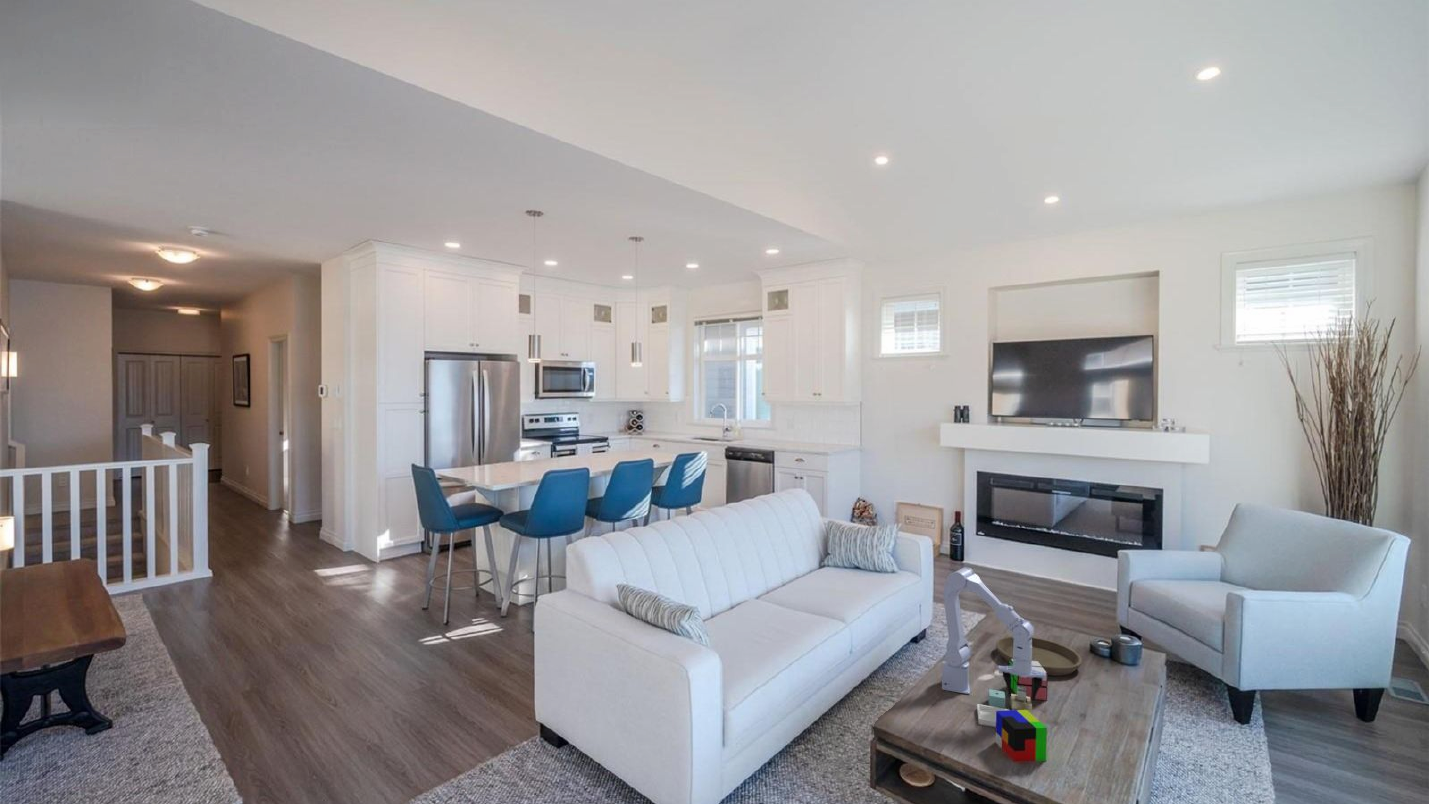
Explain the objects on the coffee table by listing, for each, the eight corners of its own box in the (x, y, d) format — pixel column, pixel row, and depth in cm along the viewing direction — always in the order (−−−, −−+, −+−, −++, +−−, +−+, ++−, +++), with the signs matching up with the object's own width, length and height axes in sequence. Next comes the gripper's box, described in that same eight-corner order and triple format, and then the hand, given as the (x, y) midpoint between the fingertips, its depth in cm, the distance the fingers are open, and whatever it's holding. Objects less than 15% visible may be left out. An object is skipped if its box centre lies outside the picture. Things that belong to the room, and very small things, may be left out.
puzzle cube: (1047, 701, 215) (1048, 673, 214) (1017, 698, 216) (1018, 670, 216) (1037, 687, 224) (1038, 660, 224) (1008, 684, 226) (1009, 658, 226)
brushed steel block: (1017, 712, 207) (1017, 689, 207) (1016, 708, 209) (1017, 685, 209) (1025, 713, 206) (1026, 690, 206) (1024, 709, 208) (1025, 687, 208)
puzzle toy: (995, 742, 189) (996, 711, 189) (1026, 741, 190) (1026, 709, 190) (1014, 762, 179) (1014, 729, 179) (1046, 760, 180) (1046, 727, 180)
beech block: (1012, 713, 206) (1012, 701, 206) (1010, 704, 212) (1010, 693, 211) (1031, 717, 204) (1032, 705, 204) (1029, 708, 209) (1029, 697, 209)
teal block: (989, 706, 210) (989, 695, 210) (988, 700, 215) (988, 688, 215) (1005, 709, 208) (1005, 698, 208) (1003, 703, 213) (1004, 691, 213)
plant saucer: (1003, 639, 268) (1003, 628, 268) (1085, 658, 250) (1085, 647, 250) (988, 664, 243) (988, 653, 243) (1077, 687, 225) (1078, 675, 225)
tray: (978, 724, 199) (978, 718, 199) (977, 708, 209) (977, 703, 209) (1012, 730, 195) (1013, 725, 195) (1009, 715, 205) (1009, 709, 205)
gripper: (1000, 658, 206) (999, 698, 206) (1048, 666, 201) (1047, 706, 201) (998, 650, 213) (997, 688, 213) (1044, 657, 208) (1043, 696, 208)
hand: (1021, 696), depth 208 cm, fingers open, 7 cm apart
